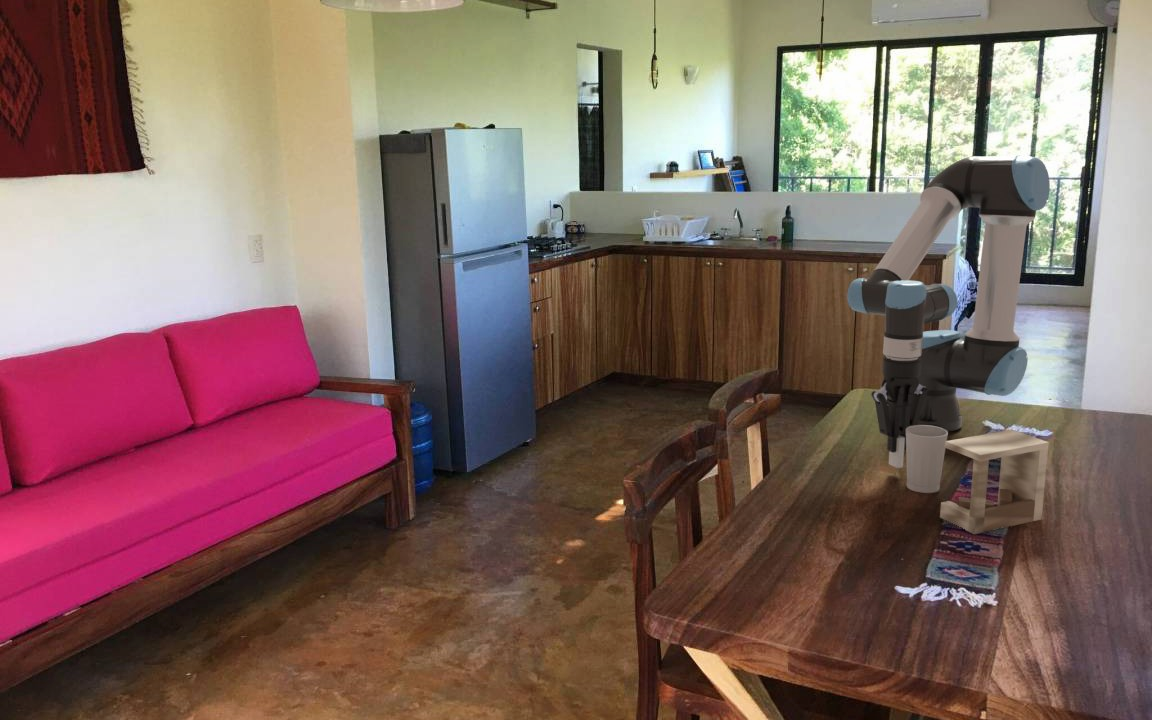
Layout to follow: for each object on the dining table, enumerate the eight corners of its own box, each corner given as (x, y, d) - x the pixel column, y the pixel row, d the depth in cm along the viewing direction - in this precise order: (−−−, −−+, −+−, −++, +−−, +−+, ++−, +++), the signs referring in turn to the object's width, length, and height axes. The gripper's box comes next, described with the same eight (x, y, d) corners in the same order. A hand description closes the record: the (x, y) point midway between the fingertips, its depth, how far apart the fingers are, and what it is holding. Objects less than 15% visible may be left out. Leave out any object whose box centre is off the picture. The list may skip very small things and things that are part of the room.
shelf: (940, 517, 175) (945, 441, 171) (1005, 503, 180) (1011, 429, 177) (974, 534, 167) (980, 455, 164) (1041, 519, 173) (1048, 442, 169)
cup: (947, 495, 185) (951, 437, 182) (905, 493, 187) (908, 436, 184) (940, 481, 193) (944, 425, 190) (899, 479, 194) (903, 424, 192)
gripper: (888, 363, 186) (882, 475, 191) (940, 357, 190) (933, 466, 196) (864, 356, 192) (858, 464, 198) (915, 349, 197) (908, 456, 202)
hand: (895, 465), depth 197 cm, fingers closed
